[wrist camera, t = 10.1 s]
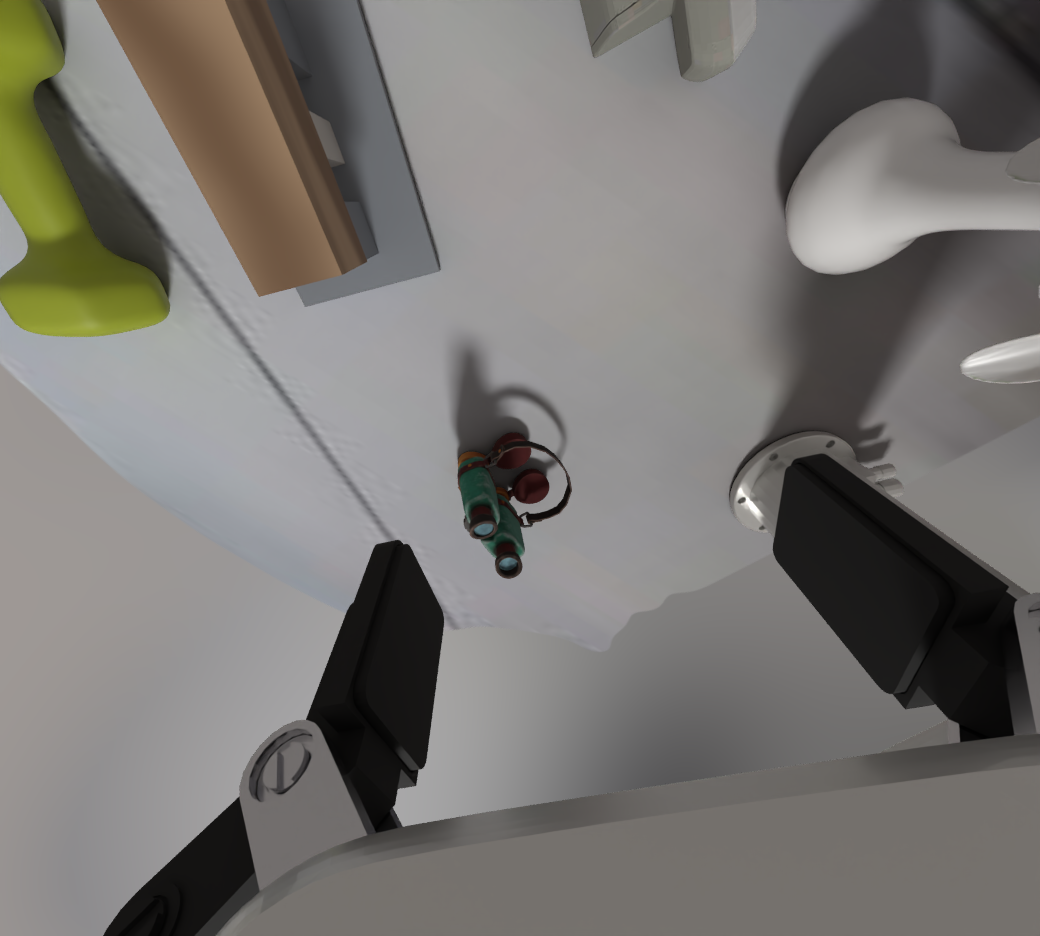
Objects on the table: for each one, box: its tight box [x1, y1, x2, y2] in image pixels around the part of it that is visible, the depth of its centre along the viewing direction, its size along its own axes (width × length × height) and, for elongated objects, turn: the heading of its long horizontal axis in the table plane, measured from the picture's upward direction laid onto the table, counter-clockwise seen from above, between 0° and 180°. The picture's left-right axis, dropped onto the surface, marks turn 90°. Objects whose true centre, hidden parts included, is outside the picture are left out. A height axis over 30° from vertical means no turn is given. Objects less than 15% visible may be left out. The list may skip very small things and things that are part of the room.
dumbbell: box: [0, 0, 170, 337], centre depth 22 cm, size 16×8×7 cm, turn 178°
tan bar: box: [96, 0, 367, 297], centre depth 17 cm, size 4×12×5 cm, turn 12°
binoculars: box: [458, 433, 572, 579], centre depth 35 cm, size 9×11×10 cm
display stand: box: [266, 0, 441, 307], centre depth 22 cm, size 10×16×7 cm, turn 13°
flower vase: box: [785, 97, 1040, 384], centre depth 18 cm, size 13×18×25 cm
